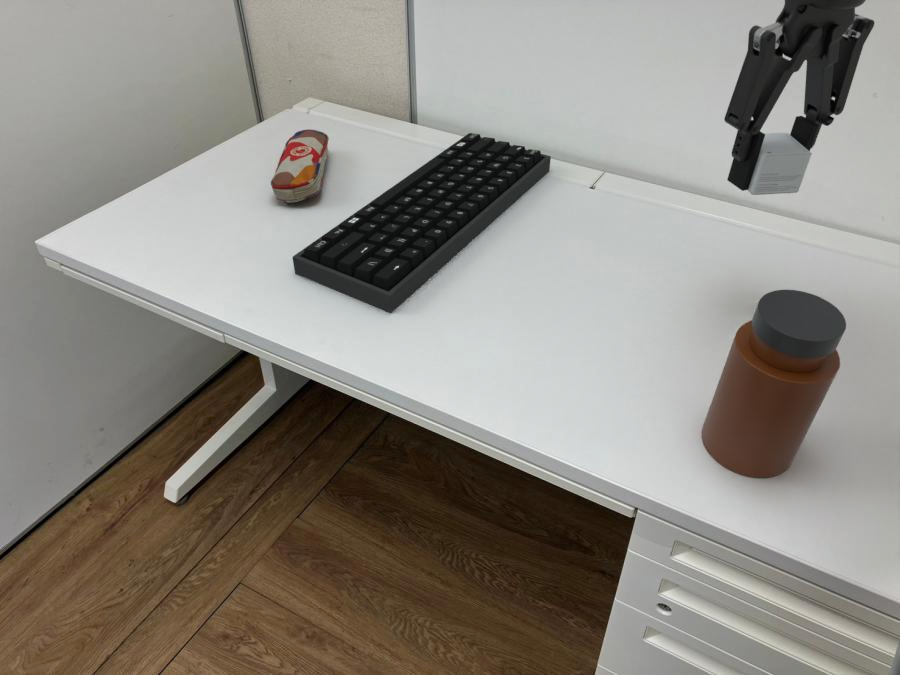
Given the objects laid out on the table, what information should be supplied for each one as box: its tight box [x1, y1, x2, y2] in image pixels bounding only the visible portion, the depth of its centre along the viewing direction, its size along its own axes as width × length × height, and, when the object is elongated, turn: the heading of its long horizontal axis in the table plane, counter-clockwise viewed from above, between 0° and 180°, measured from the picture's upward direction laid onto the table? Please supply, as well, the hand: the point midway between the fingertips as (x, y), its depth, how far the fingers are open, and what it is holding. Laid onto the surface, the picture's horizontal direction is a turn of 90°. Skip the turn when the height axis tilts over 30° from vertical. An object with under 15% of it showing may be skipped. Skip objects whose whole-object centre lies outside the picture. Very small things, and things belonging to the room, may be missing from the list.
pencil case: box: [270, 128, 330, 204], centre depth 113 cm, size 11×20×5 cm, turn 167°
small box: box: [747, 132, 813, 196], centre depth 79 cm, size 6×6×5 cm
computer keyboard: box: [291, 132, 552, 314], centre depth 104 cm, size 45×16×4 cm, turn 148°
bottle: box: [701, 289, 847, 479], centre depth 67 cm, size 9×9×17 cm
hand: (763, 179), depth 80 cm, fingers closed on small box, 6 cm apart
